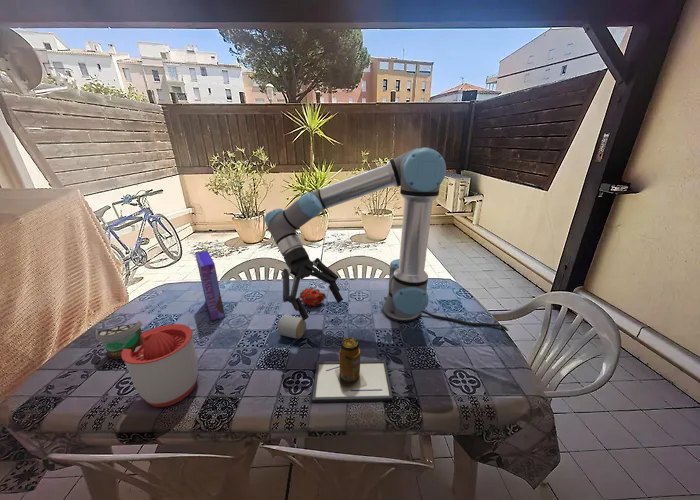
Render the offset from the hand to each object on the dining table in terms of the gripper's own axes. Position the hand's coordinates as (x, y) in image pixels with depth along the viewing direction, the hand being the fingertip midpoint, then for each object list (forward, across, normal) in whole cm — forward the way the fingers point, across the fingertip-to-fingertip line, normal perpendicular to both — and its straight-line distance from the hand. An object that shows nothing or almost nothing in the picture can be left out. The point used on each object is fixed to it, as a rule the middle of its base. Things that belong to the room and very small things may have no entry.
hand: (324, 309), depth 84 cm
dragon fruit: (-8, -16, -34) cm, 38 cm away
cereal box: (-27, +16, -52) cm, 61 cm away
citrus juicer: (-2, +40, -27) cm, 49 cm away
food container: (-21, +48, -47) cm, 70 cm away
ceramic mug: (0, +1, -26) cm, 26 cm away
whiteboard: (+22, +1, -3) cm, 22 cm away
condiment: (+21, +1, -4) cm, 22 cm away
